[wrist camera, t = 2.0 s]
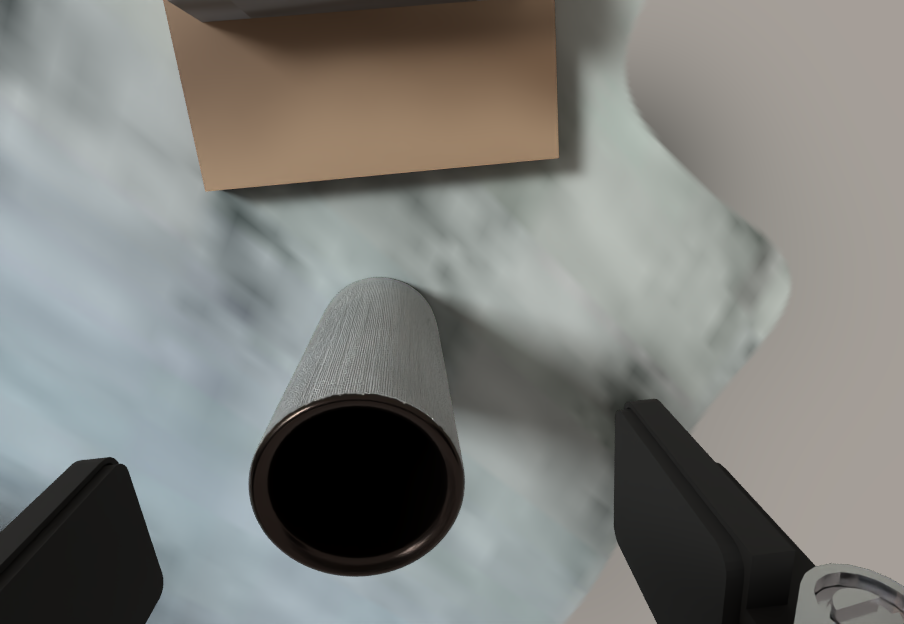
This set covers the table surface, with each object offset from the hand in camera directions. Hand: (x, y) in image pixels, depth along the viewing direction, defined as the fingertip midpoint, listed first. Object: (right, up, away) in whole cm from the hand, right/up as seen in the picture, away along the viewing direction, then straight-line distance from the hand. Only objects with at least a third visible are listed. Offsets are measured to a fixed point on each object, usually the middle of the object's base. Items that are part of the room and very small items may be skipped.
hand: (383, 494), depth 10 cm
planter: (-1, +3, +11) cm, 11 cm away
